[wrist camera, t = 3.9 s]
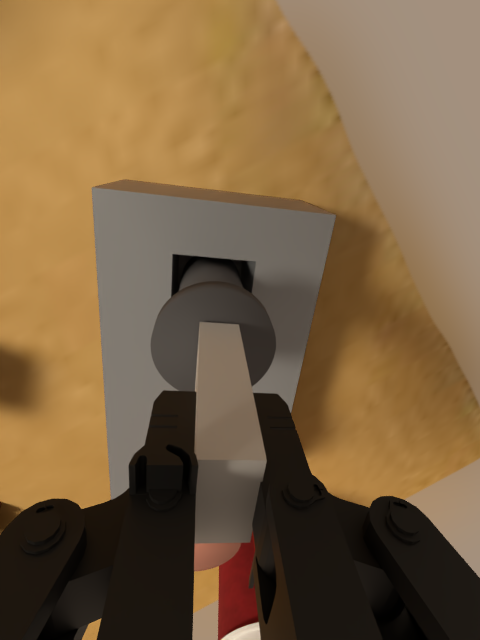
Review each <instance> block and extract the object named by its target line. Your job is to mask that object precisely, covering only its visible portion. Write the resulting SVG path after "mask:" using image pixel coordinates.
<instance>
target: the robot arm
mask: <svg viewBox="0 0 480 640" xmlns="http://www.w3.org/2000/svg"><path fill="white" fill-rule="evenodd" d="M128 466H129V488H128V489H127V490H126V491H125V492H124V493H123V494H121V495H119V496H118V497H116V498H115V499H112V500H110V501H107V502H105V503H101V504H98V505H95V506H91V507H88V508H85V509H81V508H80V507H79V505H78V504H76V503H74V502H72V501H70V500H68V499H50V500H46V501H42V502H39V503H36V504H35V505H33V506H31V507H29V508H28V509H26V510H24V511H22V512H21V513H20V514H19V515H18V516H17V517H16V518H15V519H14V520H13V521H12V522H11V523H10V524H9V525H8V526H7V527H6V529H5V530H4V531H3V532H2V533H1V535H0V640H82V637H83V635H84V633H85V631H86V629H87V626H88V624H89V623H91V622H94V621H96V620H98V619H100V618H102V619H101V623H100V628H99V632H98V637H97V640H192V630H193V629H192V628H193V627H192V626H193V590H194V550H195V544H199V543H247V542H250V540H251V536H252V531H253V536H254V544H255V553H254V558H253V562H252V567H251V572H250V576H249V588H253V587H254V584H255V593H256V602H257V611H258V620H259V628H260V637H261V640H480V578H479V577H478V576H477V575H476V573H475V572H474V571H473V570H472V569H471V567H470V566H469V565H468V564H467V563H466V562H465V561H464V559H463V558H462V557H461V556H460V555H459V554H458V552H457V551H456V550H455V549H454V548H453V547H452V545H451V544H450V543H449V542H448V541H447V540H446V539H445V537H444V536H443V535H442V534H441V533H440V531H439V530H438V529H437V528H436V527H435V526H434V524H433V523H432V522H431V521H430V520H429V519H428V518H427V517H426V516H425V515H424V514H423V513H422V512H421V511H420V510H419V509H418V508H417V507H416V506H414V505H412V504H410V503H409V502H407V501H405V500H403V499H400V498H397V497H393V496H381V497H379V498H377V499H376V500H374V501H373V502H372V504H371V506H370V508H368V507H365V506H362V505H358V504H355V503H352V502H348V501H345V500H342V499H340V498H337V497H335V496H333V495H332V494H330V493H328V491H327V490H326V488H325V486H324V485H323V483H322V482H320V481H319V480H318V479H317V478H316V477H315V476H313V475H312V474H311V471H310V469H309V466H308V463H307V460H306V457H305V454H304V451H303V448H302V445H301V442H300V439H299V436H298V434H297V431H296V430H295V425H294V422H293V420H292V416H291V413H290V410H289V407H288V404H287V403H286V402H285V401H284V400H283V399H282V398H281V397H280V396H279V395H278V394H275V393H253V391H252V386H251V381H250V376H249V371H248V367H247V362H246V357H245V352H244V347H243V342H242V337H241V333H240V328H239V324H225V323H210V322H200V326H199V339H198V352H197V366H196V379H195V392H194V391H168V390H163V391H162V392H161V394H160V395H159V396H158V397H157V398H156V399H155V401H154V403H153V408H152V413H151V417H150V422H149V428H148V431H147V436H146V441H145V445H144V446H143V447H142V448H141V449H139V450H138V451H137V452H136V453H135V454H134V455H133V457H132V459H131V461H130V463H129V465H128Z"/></svg>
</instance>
